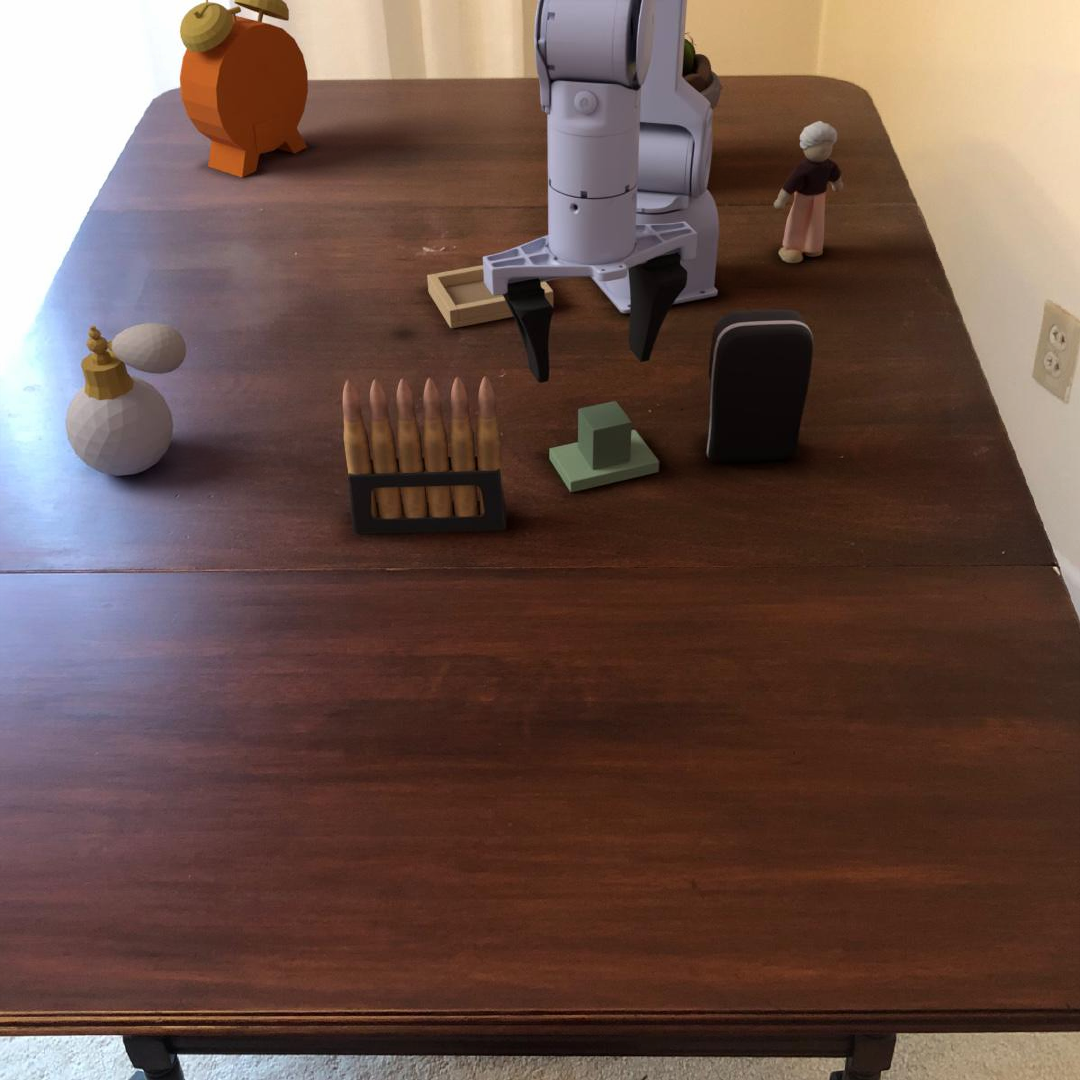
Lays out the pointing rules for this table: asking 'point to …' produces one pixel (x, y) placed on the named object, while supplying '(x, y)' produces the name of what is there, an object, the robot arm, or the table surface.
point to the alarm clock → (242, 83)
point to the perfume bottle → (124, 400)
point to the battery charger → (758, 385)
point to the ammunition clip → (424, 463)
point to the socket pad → (469, 297)
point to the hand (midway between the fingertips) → (589, 364)
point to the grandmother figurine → (809, 194)
